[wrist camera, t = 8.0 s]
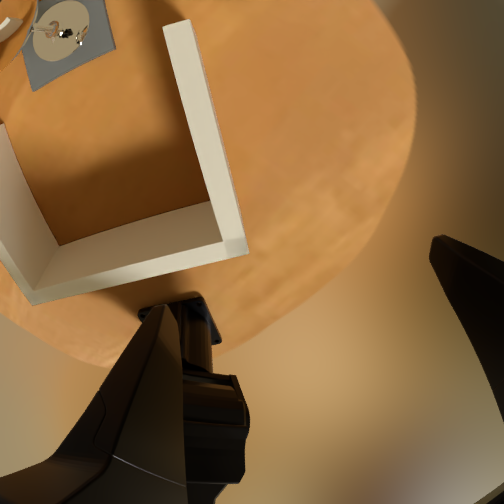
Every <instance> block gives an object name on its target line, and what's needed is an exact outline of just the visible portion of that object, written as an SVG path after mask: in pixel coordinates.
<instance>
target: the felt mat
mask: <svg viewBox="0 0 504 504" xmlns="http://www.w3.org/2000/svg"><path fill="white" fill-rule="evenodd" d="M62 1H66V0H42V1H40V2H39V7H38V13H37V17H36V21H35V23H38V21H39V19H40V18H41V17H42V15H43V14H44V13H45V12H46V11H47V10H48V9H49V8H51V7H52V6H53V5H55V4H57V3H59V2H62ZM75 1H79V2H80V3H82V4H84V5H85V6H86V8H87V9H88V11H89V15H90V26H89V30H88V33H87V35H86V37H85V39H84V41H83V42H82V44H81V45H80V47H79V48H78V49H77V50H76V51H75V52H74V53H72V54H71V55H70V56H68V57H66V58H65V59H62V60H59V61H53V62H49V61H45V60H43V59H41V58H40V57H39V56H38V55H37V54H36V52H35V50H34V48H33V33H34V32H31V34H30V36H29V38H28V39H27V41H26V43H25V45H24V46H23V48H22V52H23V56H24V61H25V65H26V69H27V73H28V77H29V81H30V84H31V88H32V91H33V92H34V91H36V90H38V89H39V88H41V87H43V86H44V85H46V84H48V83H49V82H51V81H53V80H54V79H56V78H58V77H60V76H62V75H63V74H65V73H67V72H69V71H71V70H73V69H75V68H76V67H78V66H80V65H82V64H84V63H86V62H88V61H91V60H93V59H95V58H97V57H99V56H101V55H103V54H106V53H108V52H110V51H113V50H115V49H116V46H115V43H114V39H113V35H112V31H111V27H110V22H109V18H108V14H107V10H106V5H105V1H104V0H75Z"/></svg>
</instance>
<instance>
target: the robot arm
mask: <svg viewBox="0 0 504 504" xmlns="http://www.w3.org/2000/svg"><path fill="white" fill-rule="evenodd" d="M429 260H430V263H431V265H432V267H433V269H434V271H435V273H436V275H437V277H438V279H439V282H440V284H441V286H442V288H443V290H444V292H445V294H446V296H447V298H448V300H449V302H450V304H451V306H452V307H453V309H454V311H455V313H456V315H457V316H458V318H459V320H460V322H461V324H462V326H463V328H464V329H465V332H466V334H467V336H468V337H469V339H470V342H471V344H472V346H473V347H474V350H475V352H476V354H477V356H478V358H479V361H480V363H481V365H482V367H483V370H484V372H485V374H486V377H487V379H488V381H489V383H490V386H491V389H492V391H493V394H494V397H495V399H496V402H497V405H498V407H499V410H500V413H501V416H502V419H503V422H504V262H503V261H501V260H499V259H497V258H495V257H493V256H491V255H489V254H487V253H485V252H482V251H480V250H478V249H476V248H474V247H471V246H469V245H467V244H465V243H462V242H460V241H458V240H455V239H453V238H451V237H448V236H446V235H443V234H442V235H438V236H435V237H433V239H432V243H431V248H430V253H429ZM198 302H200V303H198ZM143 314H144V315H143ZM138 318H139V319H140V321H141V322H142V324H141V326H140V327H139V329H138V330H137V332H136V333H135V335H134V336H133V338H132V339H131V341H130V342H129V344H128V345H127V347H126V348H125V350H124V351H123V353H122V354H121V356H120V357H119V359H118V360H117V362H116V363H115V365H114V366H113V368H112V369H111V371H110V373H109V374H108V376H107V377H106V379H105V381H104V382H103V383H102V385H101V387H100V388H99V391H97V393H96V394H95V396H94V398H93V399H92V401H91V402H90V404H89V405H88V407H87V409H86V410H85V412H84V413H83V414H82V416H81V417H80V419H79V420H78V422H77V423H76V424H75V426H74V427H73V428H72V430H71V431H70V432H69V434H68V435H67V437H66V438H65V439H64V441H63V442H62V443H61V445H60V446H59V448H58V449H57V450H56V452H55V453H54V454H53V455H52V456H50V457H49V458H48V459H46V460H45V461H43V462H41V463H38V464H36V465H33V466H31V467H28V468H25V469H23V470H20V471H17V472H15V473H12V474H9V475H6V476H3V477H0V504H215V500H216V498H217V497H218V496H219V494H220V493H221V492H222V491H223V490H224V488H225V487H226V486H227V485H228V484H238V483H239V482H240V481H241V479H242V477H243V475H244V473H245V442H246V438H247V436H248V433H249V428H250V415H249V410H248V407H247V404H246V401H245V399H244V396H243V393H242V391H241V388H240V385H239V383H238V380H237V377H236V375H222V374H215V373H213V366H212V365H213V364H212V345H216V344H220V343H221V342H222V338H221V335H220V333H219V331H218V329H217V327H216V324H215V322H214V320H213V318H212V316H211V313H210V311H209V309H208V307H207V304H206V302H205V300H204V299H203V298H201V297H196V298H192V299H187V300H183V301H178V302H173V303H169V304H163V305H158V306H154V307H150V308H145V309H140V310H139V311H138ZM474 504H504V483H502V484H501V485H500V486H498V487H497V488H496V489H494V490H493V491H492V492H491V493H489V494H487V495H486V496H485V497H483V498H482V499H480V500H479V501H477V502H476V503H474Z"/></svg>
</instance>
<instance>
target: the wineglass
mask: <svg viewBox="0 0 504 504" xmlns="http://www.w3.org/2000/svg"><path fill="white" fill-rule="evenodd" d="M38 7H39V0H0V72H1V71H3V70H4V69H5V68H6V67H7V66H8V65H9V64H10V63H11V62H12V61H13V60H14V58H15V57H16V56H17V55H18V54H19V52H20V51H21V49H22V48H23V46H24V45H25V43H26V41H27V39H28V38H29V36H30V34H31V32H34V33H33V48H34V50H35V52H36V54H37V55H38V56H39V57H40V58H41V59H43V60H45V61H49V62H53V61H59V60H62V59H65V58H66V57H68V56H70V55H71V54H72V53H74V52H75V51H76V50H77V49H78V48H79V47H80V45H81V44H82V42H83V41H84V39H85V37H86V35H87V33H88V30H89V26H90V15H89V11H88V9H87V8H86V6H85V5H84V4H82V3H80V2H79V1H75V0H66V1H62V2H59V3H57V4H55V5H53V6H52V7H51V8H49V9H48V10H47V11H46V12H45V13H44V14H43V15H42V17H41V18H40V19H39V21H38V23H35V21H36V17H37V13H38Z"/></svg>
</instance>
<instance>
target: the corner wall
mask: <svg viewBox="0 0 504 504" xmlns="http://www.w3.org/2000/svg"><path fill="white" fill-rule="evenodd" d="M162 28H163V32H164V36H165V40H166V44H167V47H168V51H169V55H170V59H171V63H172V66H173V70H174V74H175V78H176V81H177V85H178V89H179V92H180V96H181V100H182V103H183V107H184V110H185V114H186V118H187V121H188V125H189V128H190V132H191V135H192V139H193V142H194V146H195V149H196V153H197V156H198V160H199V163H200V166H201V170H202V173H203V177H204V180H205V183H206V187H207V190H208V193H209V197H210V200H211V201H207V202H203V203H199V204H195V205H192V206H188V207H184V208H181V209H177V210H173V211H170V212H166V213H163V214H159V215H156V216H152V217H149V218H146V219H142V220H139V221H136V222H132V223H129V224H126V225H122V226H119V227H116V228H113V229H110V230H107V231H103V232H100V233H97V234H94V235H91V236H88V237H85V238H82V239H79V240H76V241H73V242H70V243H68V244H65V245H62V246H59V245H58V243H57V241H56V239H55V238H54V236H53V234H52V232H51V230H50V229H49V227H48V225H47V223H46V221H45V219H44V217H43V215H42V213H41V211H40V209H39V207H38V205H37V203H36V201H35V199H34V197H33V195H32V193H31V191H30V188H29V186H28V184H27V182H26V180H25V177H24V175H23V173H22V170H21V168H20V165H19V163H18V161H17V158H16V156H15V153H14V150H13V148H12V145H11V142H10V140H9V137H8V134H7V131H6V128H5V125H4V123H3V124H1V125H0V260H1V261H2V263H3V265H4V266H5V268H6V269H7V271H8V272H9V274H10V275H11V277H12V278H13V280H14V281H15V283H16V284H17V285H18V287H19V288H20V290H21V291H22V292H23V294H24V295H25V296H26V298H27V299H28V300H29V302H30V303H31V304H32V306H33V305H37V304H41V303H45V302H50V301H54V300H58V299H62V298H66V297H70V296H75V295H79V294H83V293H87V292H91V291H96V290H100V289H104V288H108V287H112V286H117V285H121V284H125V283H129V282H133V281H137V280H142V279H146V278H150V277H154V276H158V275H162V274H167V273H171V272H175V271H179V270H183V269H188V268H192V267H196V266H200V265H204V264H208V263H213V262H217V261H221V260H225V259H229V258H233V257H237V256H242V255H246V254H249V249H248V245H247V240H246V235H245V230H244V225H243V220H242V216H241V211H240V206H239V202H238V199H237V195H236V191H235V187H234V183H233V179H232V175H231V171H230V167H229V163H228V159H227V155H226V151H225V147H224V143H223V139H222V135H221V131H220V127H219V123H218V119H217V115H216V111H215V107H214V103H213V99H212V95H211V91H210V87H209V83H208V79H207V76H206V72H205V68H204V64H203V60H202V56H201V52H200V48H199V44H198V40H197V36H196V32H195V30H194V28H193V26H192V23H191V21H190V19H187V20H184V21H180V22H177V23H173V24H170V25H166V26H163V27H162Z"/></svg>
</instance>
